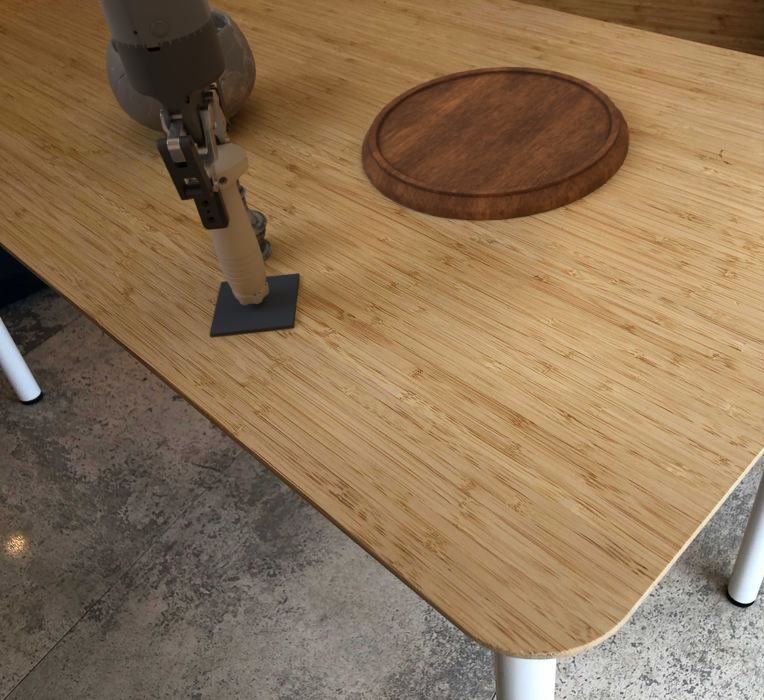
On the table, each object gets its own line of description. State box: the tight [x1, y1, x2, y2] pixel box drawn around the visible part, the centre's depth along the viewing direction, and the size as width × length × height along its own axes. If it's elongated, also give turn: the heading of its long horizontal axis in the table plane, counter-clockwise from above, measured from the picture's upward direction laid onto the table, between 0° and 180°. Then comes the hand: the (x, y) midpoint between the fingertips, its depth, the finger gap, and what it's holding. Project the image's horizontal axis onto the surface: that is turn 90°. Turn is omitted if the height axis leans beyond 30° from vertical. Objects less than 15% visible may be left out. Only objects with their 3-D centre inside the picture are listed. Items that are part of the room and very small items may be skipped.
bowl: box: [105, 6, 257, 133], centre depth 108 cm, size 18×18×13 cm
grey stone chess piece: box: [238, 178, 273, 262], centre depth 86 cm, size 6×6×12 cm
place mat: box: [209, 272, 301, 338], centre depth 83 cm, size 8×8×1 cm
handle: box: [193, 143, 269, 305], centre depth 78 cm, size 5×6×15 cm
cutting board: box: [361, 66, 630, 221], centre depth 101 cm, size 32×32×2 cm
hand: (222, 206), depth 75 cm, fingers closed on handle, 5 cm apart
